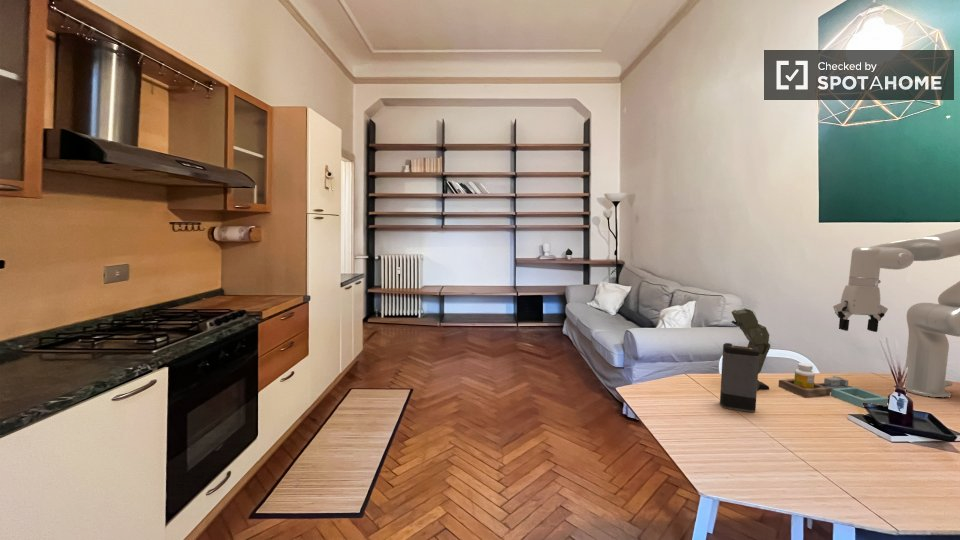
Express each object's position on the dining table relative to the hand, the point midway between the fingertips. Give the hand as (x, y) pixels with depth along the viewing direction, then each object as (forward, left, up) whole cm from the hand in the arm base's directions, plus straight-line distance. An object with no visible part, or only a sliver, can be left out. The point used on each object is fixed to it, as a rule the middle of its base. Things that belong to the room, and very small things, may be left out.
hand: (857, 330), depth 140 cm
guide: (+7, -2, -22) cm, 23 cm away
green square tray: (+8, +8, -22) cm, 25 cm away
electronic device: (+53, +6, -22) cm, 57 cm away
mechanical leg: (+35, -9, -22) cm, 42 cm away
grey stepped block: (+6, -2, -22) cm, 22 cm away
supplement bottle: (+19, -2, -22) cm, 29 cm away
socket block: (+19, -2, -22) cm, 29 cm away
